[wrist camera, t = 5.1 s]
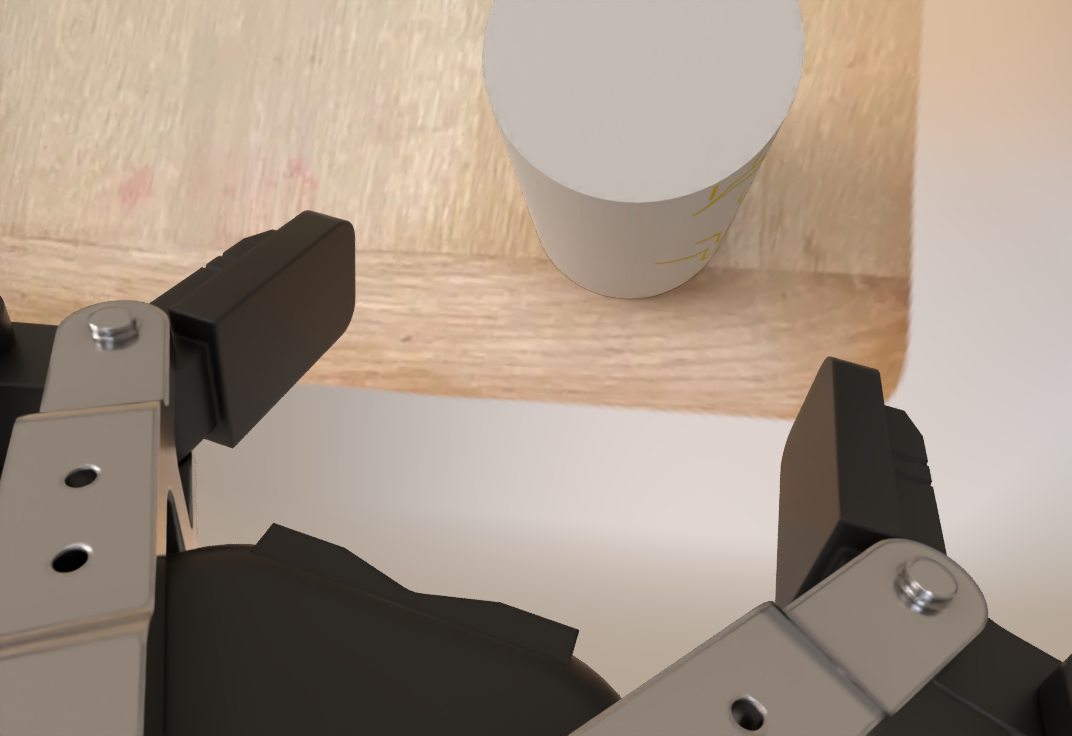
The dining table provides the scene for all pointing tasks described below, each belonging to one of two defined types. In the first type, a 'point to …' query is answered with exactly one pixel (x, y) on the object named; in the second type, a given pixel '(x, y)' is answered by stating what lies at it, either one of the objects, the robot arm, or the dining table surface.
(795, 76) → the beige solid cylinder
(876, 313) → the dining table surface
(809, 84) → the dining table surface
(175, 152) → the dining table surface
